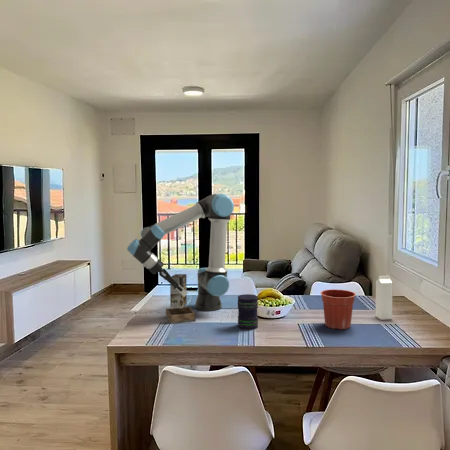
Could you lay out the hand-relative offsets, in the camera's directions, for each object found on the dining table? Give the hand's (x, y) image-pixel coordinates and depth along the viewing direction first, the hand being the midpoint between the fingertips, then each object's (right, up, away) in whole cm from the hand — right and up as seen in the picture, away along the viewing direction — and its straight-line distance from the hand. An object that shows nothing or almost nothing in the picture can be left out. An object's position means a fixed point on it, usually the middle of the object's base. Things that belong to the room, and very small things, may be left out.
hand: (184, 292), depth 218 cm
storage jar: (+32, -15, -15) cm, 39 cm away
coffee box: (-3, -7, 0) cm, 8 cm away
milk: (+103, -13, -3) cm, 104 cm away
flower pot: (+76, -14, -15) cm, 79 cm away
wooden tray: (-2, -14, 0) cm, 14 cm away
